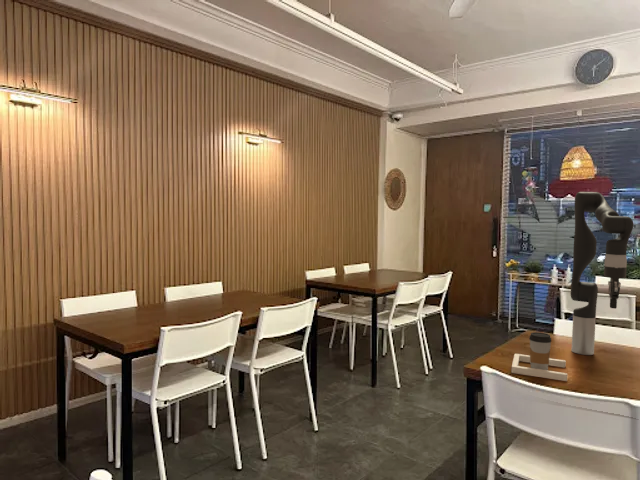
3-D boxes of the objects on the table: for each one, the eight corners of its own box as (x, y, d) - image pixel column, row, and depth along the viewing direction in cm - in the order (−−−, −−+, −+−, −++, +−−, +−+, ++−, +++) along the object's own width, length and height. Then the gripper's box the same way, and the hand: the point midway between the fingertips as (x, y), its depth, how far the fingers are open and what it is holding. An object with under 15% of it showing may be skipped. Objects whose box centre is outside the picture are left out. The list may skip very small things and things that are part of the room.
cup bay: (514, 359, 205) (514, 353, 205) (565, 366, 196) (565, 360, 196) (511, 372, 187) (511, 366, 187) (567, 381, 178) (567, 374, 178)
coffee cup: (551, 374, 185) (553, 338, 184) (529, 372, 188) (530, 336, 187) (548, 368, 193) (550, 333, 192) (527, 365, 196) (528, 331, 195)
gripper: (602, 263, 193) (600, 304, 194) (606, 266, 182) (604, 310, 183) (623, 264, 190) (621, 306, 191) (629, 267, 178) (626, 312, 179)
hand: (613, 308), depth 187 cm, fingers closed
